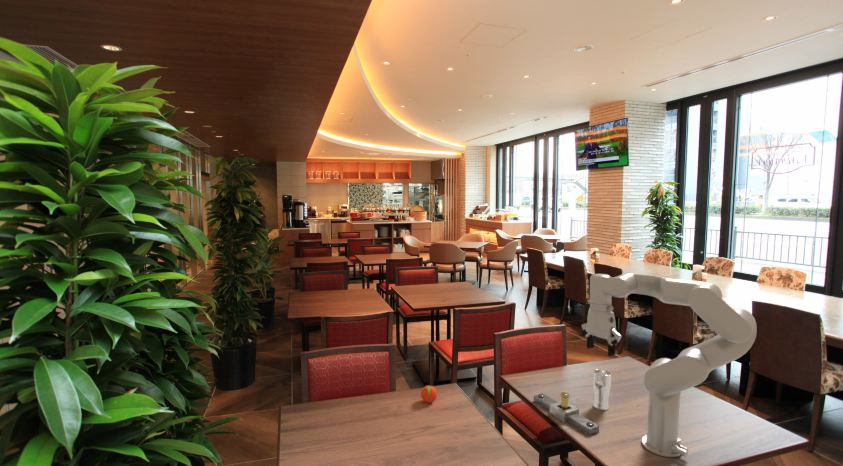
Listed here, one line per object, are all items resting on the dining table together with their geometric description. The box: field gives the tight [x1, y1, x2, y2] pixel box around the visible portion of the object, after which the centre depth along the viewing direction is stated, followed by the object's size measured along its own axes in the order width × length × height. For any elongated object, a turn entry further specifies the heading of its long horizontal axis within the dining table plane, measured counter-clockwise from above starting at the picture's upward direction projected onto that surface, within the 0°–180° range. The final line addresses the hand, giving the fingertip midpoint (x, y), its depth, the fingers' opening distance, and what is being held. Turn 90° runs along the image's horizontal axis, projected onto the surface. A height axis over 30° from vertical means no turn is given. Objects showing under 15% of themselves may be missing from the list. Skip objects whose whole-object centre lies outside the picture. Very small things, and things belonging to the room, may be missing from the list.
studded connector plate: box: [533, 393, 600, 436], centre depth 174 cm, size 30×8×4 cm, turn 27°
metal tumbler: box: [592, 368, 612, 411], centre depth 181 cm, size 7×7×15 cm
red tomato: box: [420, 385, 438, 404], centre depth 185 cm, size 8×7×7 cm
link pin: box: [559, 391, 570, 410], centre depth 174 cm, size 3×3×9 cm
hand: (600, 351), depth 164 cm, fingers open, 9 cm apart
